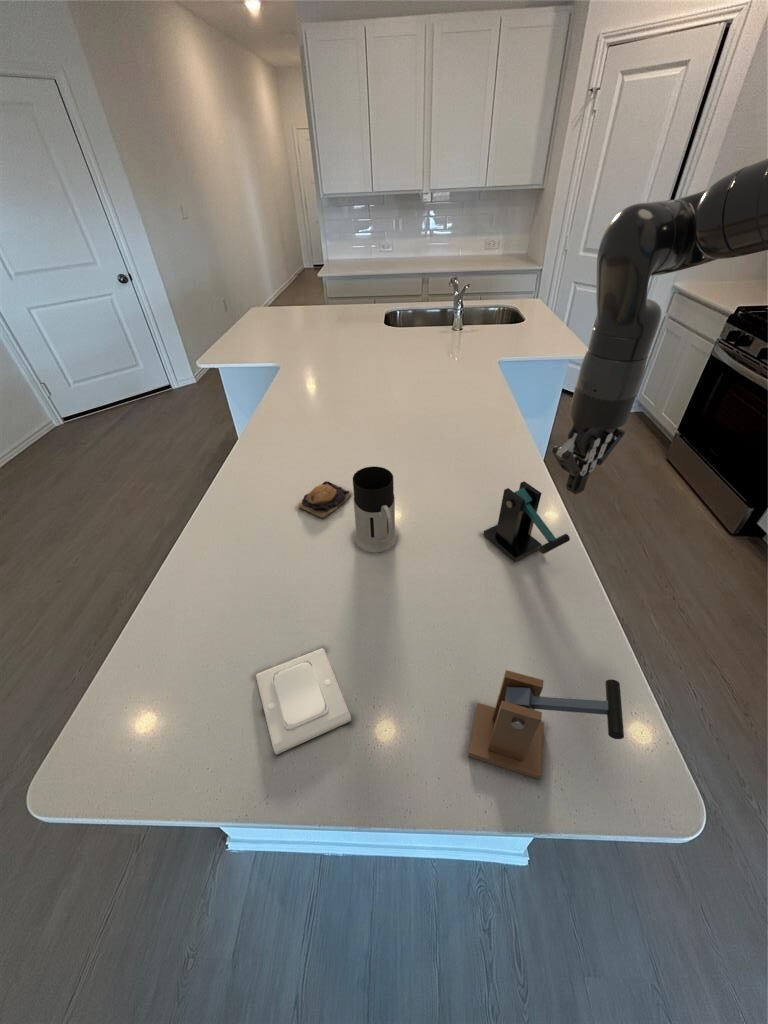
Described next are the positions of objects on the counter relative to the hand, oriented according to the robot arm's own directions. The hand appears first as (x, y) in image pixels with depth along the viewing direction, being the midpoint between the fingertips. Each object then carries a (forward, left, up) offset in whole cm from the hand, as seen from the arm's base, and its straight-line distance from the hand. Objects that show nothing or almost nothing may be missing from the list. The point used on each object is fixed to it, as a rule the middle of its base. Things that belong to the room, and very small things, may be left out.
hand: (574, 490), depth 69 cm
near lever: (-6, +32, -8) cm, 34 cm away
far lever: (+5, -3, -11) cm, 13 cm away
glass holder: (+31, +8, -20) cm, 38 cm away
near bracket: (-2, +33, -19) cm, 38 cm away
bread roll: (+49, +1, -20) cm, 53 cm away
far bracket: (+8, -5, -19) cm, 22 cm away
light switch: (+26, +41, -20) cm, 52 cm away
